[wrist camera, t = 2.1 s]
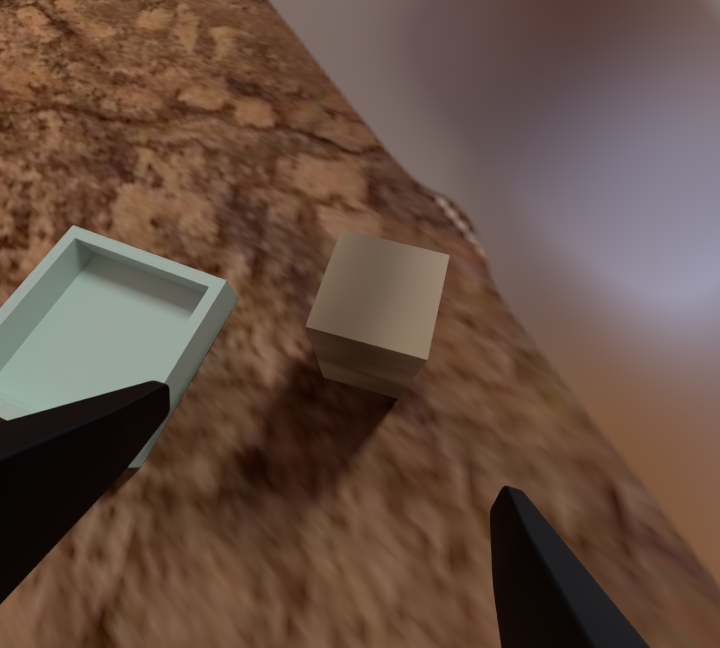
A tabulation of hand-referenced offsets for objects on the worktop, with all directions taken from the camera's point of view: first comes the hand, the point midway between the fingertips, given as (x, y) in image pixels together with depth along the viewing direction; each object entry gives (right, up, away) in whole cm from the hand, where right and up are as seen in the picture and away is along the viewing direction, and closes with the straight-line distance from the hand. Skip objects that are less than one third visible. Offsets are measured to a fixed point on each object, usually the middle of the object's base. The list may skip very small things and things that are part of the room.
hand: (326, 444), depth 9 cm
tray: (-15, +2, +14) cm, 21 cm away
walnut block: (+2, +1, +14) cm, 14 cm away
